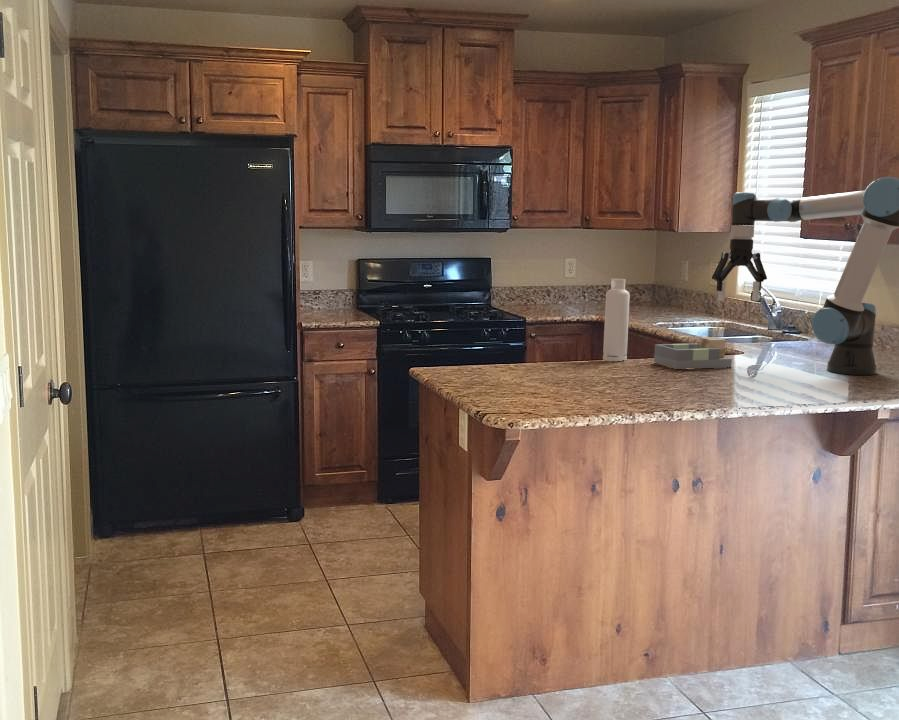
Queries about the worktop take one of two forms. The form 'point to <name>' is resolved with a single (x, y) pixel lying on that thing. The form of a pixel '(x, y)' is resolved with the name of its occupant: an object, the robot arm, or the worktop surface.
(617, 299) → the bottle
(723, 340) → the block
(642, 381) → the worktop surface
